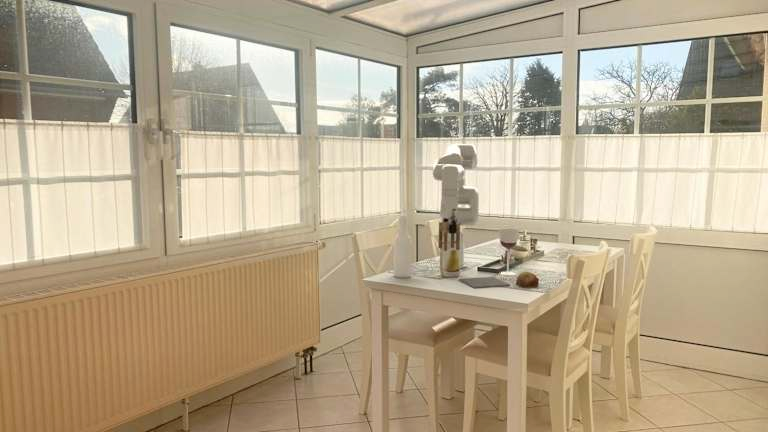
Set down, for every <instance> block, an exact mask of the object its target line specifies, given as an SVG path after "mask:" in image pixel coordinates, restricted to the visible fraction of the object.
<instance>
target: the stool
mask: <svg viewBox="0 0 768 432" xmlns="http://www.w3.org/2000/svg"><path fill="white" fill-rule="evenodd" d="M449 225H450V222H442V221H438V249H440V248H442V244H444V251H447V233H449ZM460 228H461V226H460V223H457V225H456V241H454V233H453V234H451V248H454V243H456V250H459V249H460ZM442 232H444V242H442Z"/></svg>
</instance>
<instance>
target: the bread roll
mask: <svg viewBox="0 0 768 432" xmlns="http://www.w3.org/2000/svg"><path fill="white" fill-rule="evenodd" d="M539 281H540V279H539V278H538V277H537V275H536V274H534V273H532V272H529V271H523V272H521V273H520V274H518V276H517V277H516V282H515V285H517V286H518V287H521V288H530V289H531V288H536V287H538V286H539V284H540V283H539Z"/></svg>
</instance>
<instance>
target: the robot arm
mask: <svg viewBox="0 0 768 432" xmlns="http://www.w3.org/2000/svg"><path fill="white" fill-rule="evenodd" d="M477 153H478V152H477V150H476V147H475V145H473V144H470V143H464V144H463V143H460V144H459V143H454V144H451V145H450V146H448V148H447V149H446V153H445V154H444V155H443V156H442V157H440V158H438V159H436V161H435V162H434V164H433V167H432V178H433V179H434V180H435V181H441V194H440V195H441V199H440V207H439V208H440V211H439V215H440V217H441V222H450V225H449V233H450V234H453V233H456V225H457V223H460V232H461V268H460V269H464V268H467V264H466V263H464V257H465V233H464V230H462V228H461V226H467V227H469V226H471V227H472V226H473V227H474V226H476V225H477V224H478V222H479V203H480V202H479V197H480V196H479V190H478V189H477V188H476V187H474V186H465V179H466V178H465V170H474V169H476V168H477V165H478V156H477V155H478V154H477ZM462 205H463V206H464V207H463V206H462ZM459 206H460V207H459ZM461 206H462V207H461ZM465 206H469V207H465Z"/></svg>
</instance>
